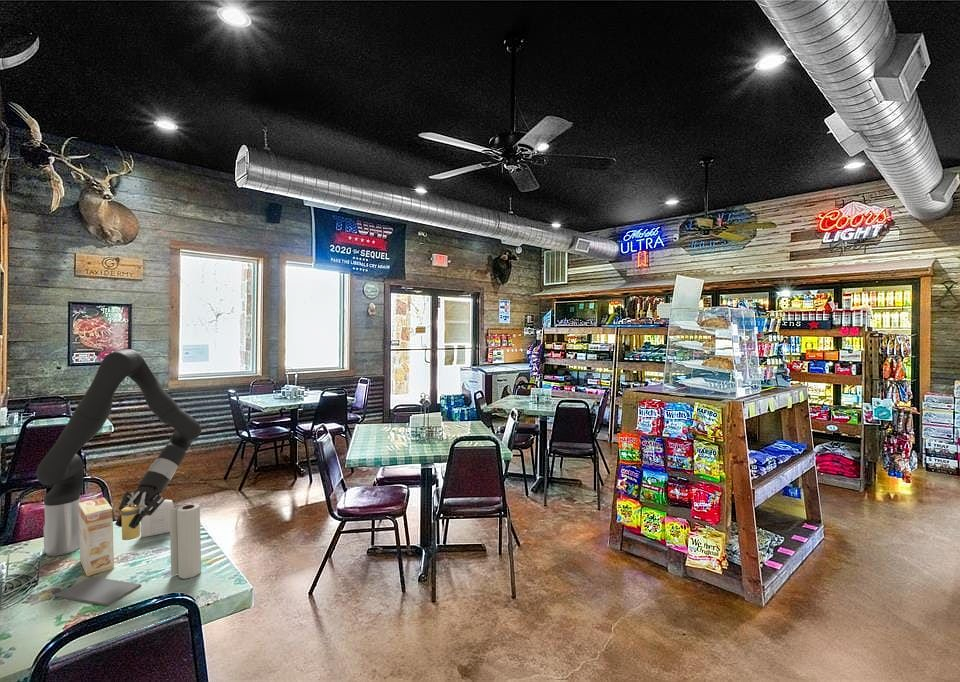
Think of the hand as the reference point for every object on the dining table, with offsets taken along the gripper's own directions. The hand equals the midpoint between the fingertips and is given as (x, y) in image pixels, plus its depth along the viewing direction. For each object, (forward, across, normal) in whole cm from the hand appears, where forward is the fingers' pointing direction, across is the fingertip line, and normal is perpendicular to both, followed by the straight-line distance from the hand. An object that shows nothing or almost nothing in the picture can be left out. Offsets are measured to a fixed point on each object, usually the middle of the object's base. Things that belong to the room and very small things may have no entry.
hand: (124, 526), depth 144 cm
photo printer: (-8, -18, +31) cm, 36 cm away
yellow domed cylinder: (+2, 0, +4) cm, 5 cm away
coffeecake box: (+9, -17, +14) cm, 24 cm away
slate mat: (+17, 0, +6) cm, 18 cm away
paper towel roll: (+7, +17, +16) cm, 24 cm away
